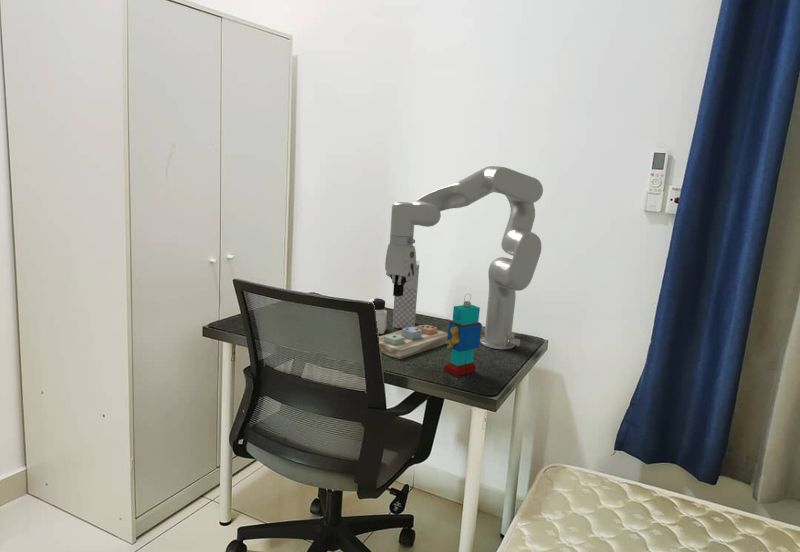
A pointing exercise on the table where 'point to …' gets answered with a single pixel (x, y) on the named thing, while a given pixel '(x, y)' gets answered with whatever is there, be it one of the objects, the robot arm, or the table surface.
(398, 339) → the button one
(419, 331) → the button two
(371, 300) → the medicine bottle
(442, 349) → the table surface
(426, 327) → the button three
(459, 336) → the toy robot
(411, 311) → the box
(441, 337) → the wooden puzzle board
